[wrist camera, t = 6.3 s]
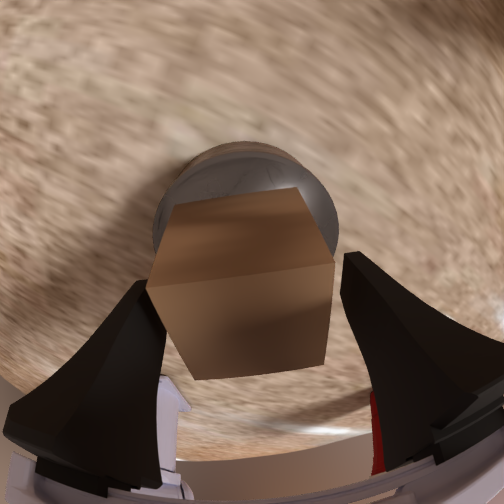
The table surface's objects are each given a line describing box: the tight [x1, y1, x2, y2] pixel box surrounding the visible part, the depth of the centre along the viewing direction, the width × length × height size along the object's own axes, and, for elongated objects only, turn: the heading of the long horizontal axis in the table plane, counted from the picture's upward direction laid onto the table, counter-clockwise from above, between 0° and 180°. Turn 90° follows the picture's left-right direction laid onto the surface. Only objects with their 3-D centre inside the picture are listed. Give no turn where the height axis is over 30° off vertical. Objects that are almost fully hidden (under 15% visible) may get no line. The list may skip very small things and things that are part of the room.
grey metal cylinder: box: [153, 141, 339, 257], centre depth 14 cm, size 8×8×3 cm
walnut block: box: [146, 187, 335, 380], centre depth 11 cm, size 5×5×5 cm
